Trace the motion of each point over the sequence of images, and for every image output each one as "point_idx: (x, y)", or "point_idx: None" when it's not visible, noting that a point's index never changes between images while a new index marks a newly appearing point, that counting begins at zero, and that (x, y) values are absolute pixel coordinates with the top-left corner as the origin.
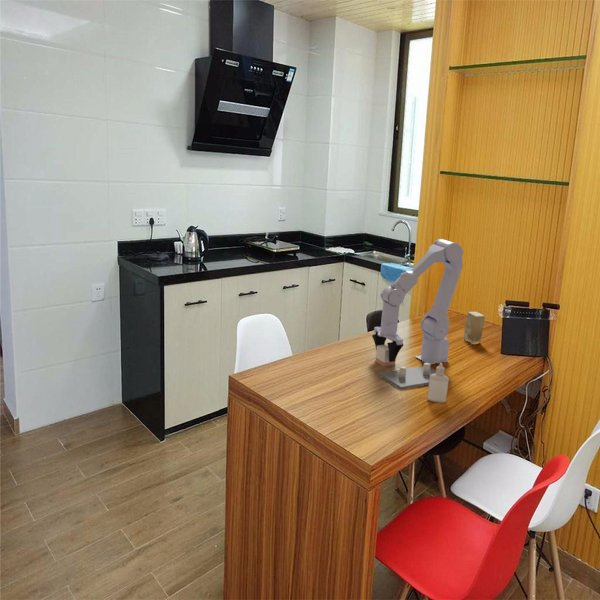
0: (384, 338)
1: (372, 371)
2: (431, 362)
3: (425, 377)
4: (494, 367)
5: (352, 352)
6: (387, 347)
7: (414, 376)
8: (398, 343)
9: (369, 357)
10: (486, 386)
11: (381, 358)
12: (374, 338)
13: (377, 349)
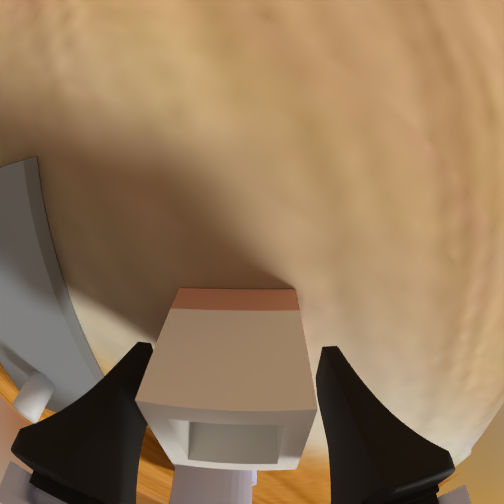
0: (337, 497)
1: (103, 143)
2: None
3: (10, 352)
4: (142, 488)
5: (492, 228)
6: (277, 443)
7: (7, 325)
8: (8, 474)
9: (381, 290)
10: (30, 421)
11: (207, 324)
12: (401, 458)
13: (292, 374)
